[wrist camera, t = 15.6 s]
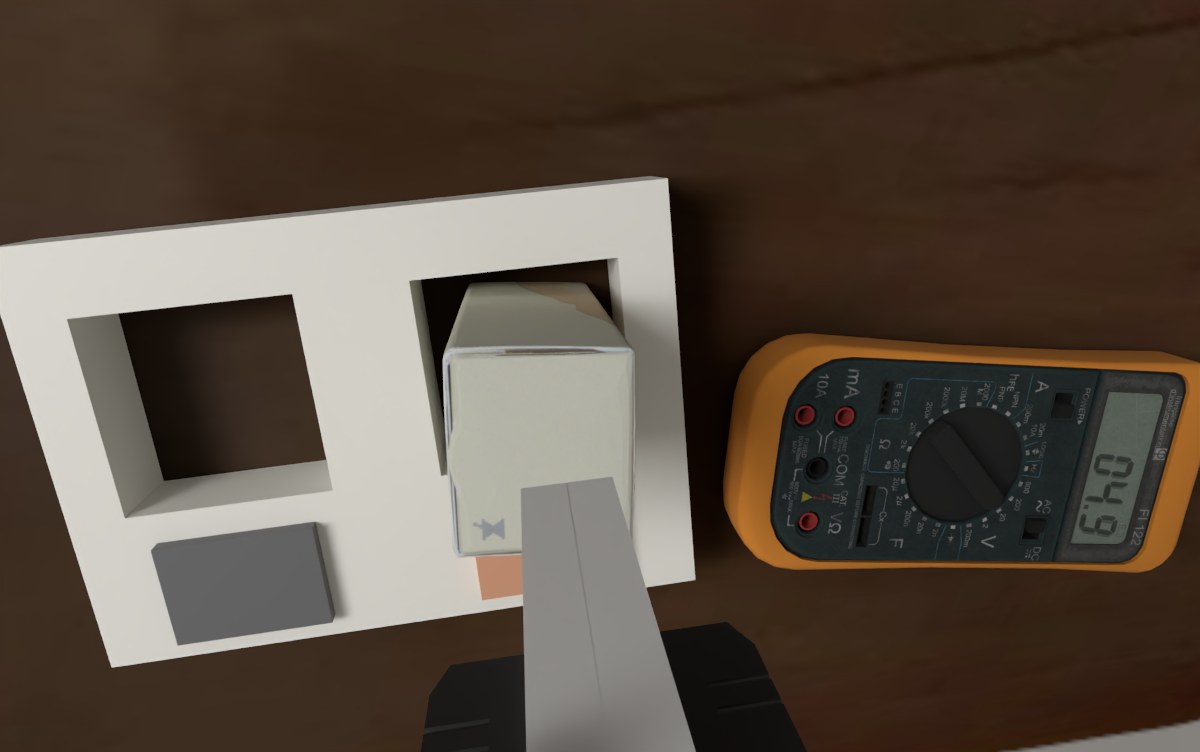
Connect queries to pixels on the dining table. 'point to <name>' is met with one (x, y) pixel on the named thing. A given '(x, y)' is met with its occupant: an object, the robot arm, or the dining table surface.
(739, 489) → the multimeter
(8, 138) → the dining table surface
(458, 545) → the box
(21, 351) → the socket board
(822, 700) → the dining table surface
